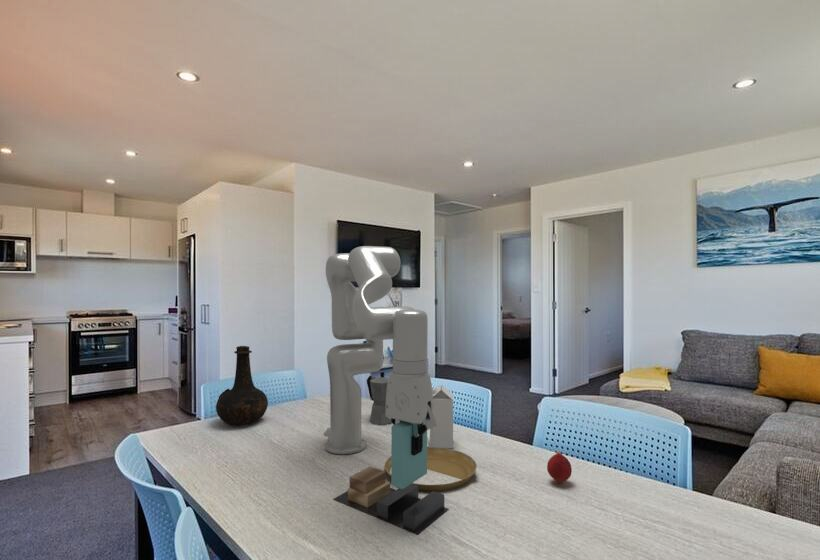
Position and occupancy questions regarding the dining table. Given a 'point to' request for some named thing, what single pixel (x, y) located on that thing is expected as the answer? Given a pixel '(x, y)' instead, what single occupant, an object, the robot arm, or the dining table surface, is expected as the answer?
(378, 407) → the coffeepot
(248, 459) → the dining table surface
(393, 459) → the teal board
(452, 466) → the plant saucer
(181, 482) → the dining table surface
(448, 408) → the milk carton
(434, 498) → the rack
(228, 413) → the glass bottle
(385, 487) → the offcut low
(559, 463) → the onion
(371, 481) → the offcut high
